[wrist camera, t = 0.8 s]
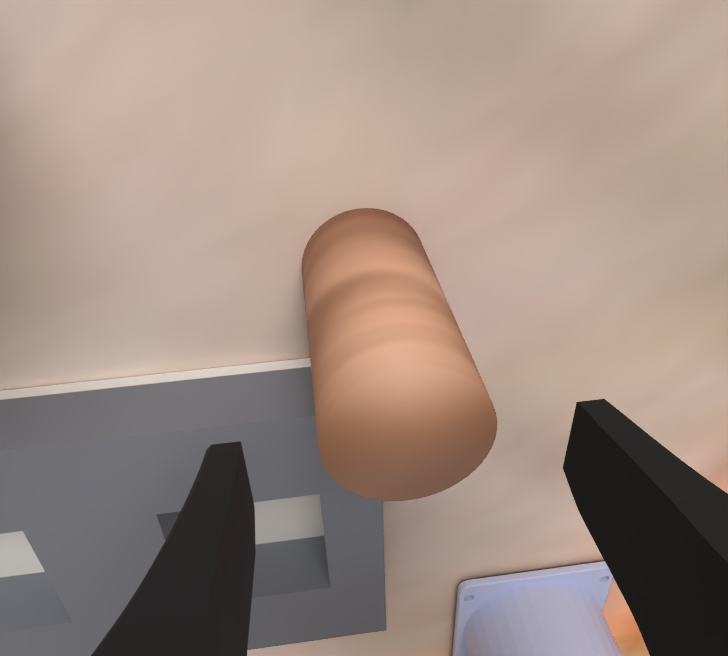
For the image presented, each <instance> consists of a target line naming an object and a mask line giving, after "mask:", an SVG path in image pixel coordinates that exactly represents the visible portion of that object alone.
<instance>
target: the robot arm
mask: <svg viewBox="0 0 728 656" xmlns="http://www.w3.org/2000/svg"><path fill="white" fill-rule="evenodd" d="M563 469H564V472H565V475H566V478H567V481H568V483H569V486H570V489H571V492H572V494H573V497H574V500H575V502H576V505H577V507H578V510H579V512H580V514H581V516H582V518H583V520H584V522H585V524H586V526H587V528H588V530H589V532H590V534H591V536H592V537H593V539H594V541H595V543H596V545H597V547H598V549H599V551H600V553H601V555H602V557H603V558H604V560H605V561H601V562H594V563H587V564H579V565H572V566H565V567H558V568H550V569H543V570H536V571H529V572H521V573H514V574H507V575H500V576H492V577H485V578H478V579H471V580H466V581H463V582H461V583H460V584H459V586H458V594H457V606H456V618H455V629H454V641H453V653H452V656H622V654H621V652H620V650H619V648H618V645H617V643H616V641H615V639H614V637H613V635H612V633H611V630H610V628H609V626H608V624H607V622H606V620H605V617H604V615H603V613H602V611H603V608H604V605H605V602H606V598H607V595H608V592H609V589H610V586H611V583H612V580H613V577H614V579H615V581H616V583H617V585H618V587H619V589H620V591H621V593H622V594H623V596H624V598H625V600H626V602H627V604H628V606H629V608H630V610H631V612H632V614H633V616H634V619H635V621H636V623H637V625H638V627H639V630H640V632H641V634H642V637H643V639H644V642H645V644H646V647H647V649H648V652H649V654H650V656H728V494H727V493H726V492H724V491H723V490H721V489H720V488H719V487H717V486H716V485H714V484H713V483H711V482H710V481H708V480H707V479H706V478H704V477H703V476H702V475H700V474H699V473H698V472H696V471H695V470H693V469H692V468H691V467H689V466H688V465H687V464H685V463H684V462H683V461H681V460H680V459H679V458H678V457H676V456H675V455H674V454H672V453H671V452H670V451H669V450H667V449H666V448H665V447H663V446H662V445H661V444H660V443H658V442H657V441H656V440H655V439H653V438H652V437H651V436H650V435H648V434H647V433H646V432H645V431H643V430H642V429H641V428H640V427H638V426H637V425H636V424H635V423H634V422H632V421H631V420H630V419H629V418H627V417H626V416H625V415H624V414H622V413H621V412H620V411H619V410H617V409H616V408H615V407H614V406H612V405H611V404H610V403H609V402H607V401H606V400H605V399H600V400H591V401H583V402H577V404H576V409H575V413H574V418H573V423H572V428H571V432H570V437H569V442H568V446H567V451H566V456H565V461H564V465H563ZM255 555H256V548H255V506H254V501H253V497H252V492H251V487H250V482H249V477H248V473H247V468H246V463H245V458H244V454H243V449H242V444H241V441H239V442H230V443H222V444H213V445H211V446H210V447H209V448H208V449H207V450H206V453H205V456H204V459H203V461H202V464H201V466H200V469H199V472H198V474H197V476H196V479H195V481H194V483H193V486H192V488H191V490H190V492H189V495H188V497H187V499H186V501H185V503H184V505H183V507H182V509H181V511H180V513H179V515H178V517H177V519H176V521H175V523H174V525H173V527H172V529H171V531H170V533H169V535H168V537H167V539H166V541H165V543H164V544H163V546H162V548H161V550H160V551H159V553H158V555H157V557H156V558H155V560H154V562H153V564H152V565H151V567H150V569H149V571H148V573H147V574H146V576H145V577H144V579H143V581H142V582H141V584H140V586H139V587H138V589H137V590H136V592H135V593H134V595H133V597H132V598H131V600H130V601H129V603H128V604H127V606H126V607H125V609H124V610H123V612H122V613H121V615H120V616H119V618H118V619H117V620H116V622H115V623H114V625H113V626H112V627H111V629H110V630H109V632H108V633H107V634H106V636H105V637H104V638H103V640H102V641H101V643H100V644H99V645H98V647H97V648H96V649H95V651H94V652H93V653H92V655H91V656H247V648H248V636H249V625H250V614H251V602H252V591H253V579H254V567H255Z"/></svg>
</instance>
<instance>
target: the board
mask: <svg viewBox="0 0 728 656" xmlns="http://www.w3.org/2000/svg"><path fill="white" fill-rule="evenodd" d="M239 441H241V444H242V449H243V454H244V458H245V463H246V468H247V473H248V477H249V482H250V487H251V492H252V497H253V501H254V506H255V548H256V555H255V567H254V579H253V591H252V602H251V614H250V625H249V636H248V648H247V650H250V649H257V648H264V647H271V646H278V645H285V644H292V643H299V642H306V641H313V640H320V639H327V638H334V637H341V636H348V635H355V634H362V633H369V632H376V631H383V630H386V605H385V572H384V539H383V506H382V500H375V499H370V498H366V497H363V496H360V495H357V494H354V493H352V492H350V491H348V490H346V489H345V488H343V487H341V486H340V485H339V484H338V483H336V482H335V481H334V480H333V479H332V478H331V477H330V476H329V474H328V473H327V472H326V470H325V468H324V467H323V464H322V462H321V459H320V455H319V449H318V438H317V427H316V416H315V405H314V395H313V384H312V373H311V362H310V358H305V359H295V360H286V361H276V362H267V363H257V364H248V365H238V366H229V367H219V368H210V369H201V370H191V371H182V372H172V373H163V374H153V375H144V376H134V377H125V378H116V379H106V380H97V381H87V382H78V383H68V384H59V385H49V386H40V387H31V388H21V389H12V390H2V391H0V656H91V655H92V653H93V652H94V651H95V649H96V648H97V647H98V645H99V644H100V643H101V641H102V640H103V638H104V637H105V636H106V634H107V633H108V632H109V630H110V629H111V627H112V626H113V625H114V623H115V622H116V620H117V619H118V618H119V616H120V615H121V613H122V612H123V610H124V609H125V607H126V606H127V604H128V603H129V601H130V600H131V598H132V597H133V595H134V593H135V592H136V590H137V589H138V587H139V586H140V584H141V582H142V581H143V579H144V577H145V576H146V574H147V573H148V571H149V569H150V567H151V565H152V564H153V562H154V560H155V558H156V557H157V555H158V553H159V551H160V550H161V548H162V546H163V544H164V543H165V541H166V539H167V537H168V535H169V533H170V531H171V529H172V527H173V525H174V523H175V521H176V519H177V517H178V515H179V513H180V511H181V509H182V507H183V505H184V503H185V501H186V499H187V497H188V495H189V492H190V490H191V488H192V486H193V483H194V481H195V479H196V476H197V474H198V472H199V469H200V466H201V464H202V461H203V459H204V456H205V453H206V450H207V449H208V448H209V447H210V446H211V445H213V444H222V443H230V442H239Z"/></svg>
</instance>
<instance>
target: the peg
mask: <svg viewBox="0 0 728 656" xmlns="http://www.w3.org/2000/svg"><path fill="white" fill-rule="evenodd" d="M302 275H303V286H304V297H305V308H306V319H307V329H308V340H309V351H310V362H311V373H312V384H313V395H314V405H315V416H316V427H317V438H318V449H319V455H320V459H321V462H322V464H323V467H324V468H325V470H326V472H327V473H328V474H329V476H330V477H331V478H332V479H333V480H334V481H335V482H336V483H338V484H339V485H340V486H341V487H343V488H345V489H346V490H348V491H350V492H352V493H354V494H357V495H360V496H363V497H366V498H370V499H375V500H384V501H403V500H411V499H417V498H422V497H426V496H430V495H432V494H435V493H438V492H441V491H443V490H445V489H447V488H450V487H451V486H453V485H455V484H457V483H458V482H460V481H461V480H463V479H464V478H466V477H467V476H468V475H469V474H471V473H472V472H473V471H474V470H475V469H476V468H477V467H478V466H479V465H480V464H481V463H482V462H483V460H484V459H485V457H486V456H487V455H488V453H489V451H490V449H491V448H492V445H493V443H494V440H495V436H496V431H497V417H496V412H495V409H494V406H493V404H492V401H491V399H490V397H489V395H488V392H487V390H486V388H485V386H484V383H483V381H482V379H481V377H480V374H479V372H478V370H477V368H476V365H475V363H474V361H473V359H472V356H471V354H470V352H469V349H468V347H467V345H466V343H465V340H464V338H463V336H462V334H461V331H460V329H459V327H458V325H457V322H456V320H455V318H454V316H453V313H452V311H451V309H450V307H449V304H448V302H447V300H446V297H445V295H444V293H443V291H442V288H441V286H440V284H439V282H438V279H437V277H436V275H435V273H434V270H433V268H432V266H431V264H430V261H429V259H428V257H427V255H426V252H425V250H424V248H423V245H422V243H421V241H420V239H419V237H418V235H417V233H416V232H415V231H414V229H413V228H412V227H411V226H410V225H409V224H408V223H407V222H406V221H404V220H403V219H402V218H400V217H398V216H397V215H395V214H393V213H390V212H387V211H384V210H379V209H371V208H363V209H355V210H350V211H347V212H343V213H341V214H339V215H336V216H335V217H333V218H331V219H329V220H328V221H327V222H325V223H324V224H323V225H321V226H320V227H319V228H318V229H317V230H316V232H315V233H314V234H313V235H312V237H311V238H310V240H309V242H308V243H307V246H306V248H305V251H304V254H303V259H302Z"/></svg>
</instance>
